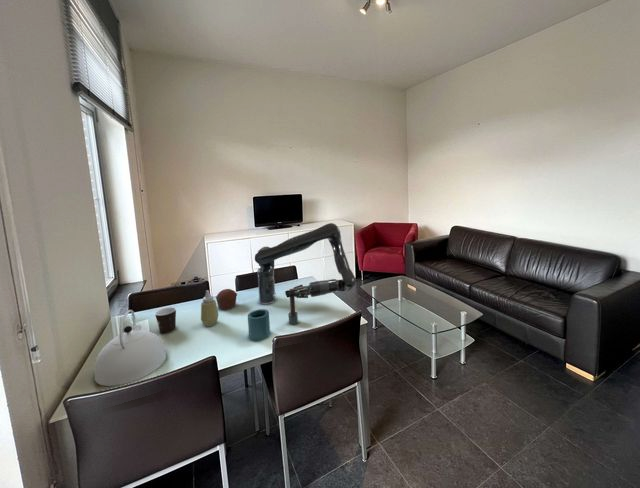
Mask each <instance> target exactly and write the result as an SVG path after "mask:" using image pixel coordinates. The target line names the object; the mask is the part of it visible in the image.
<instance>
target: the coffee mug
mask: <svg viewBox="0 0 640 488" xmlns="http://www.w3.org/2000/svg"><path fill="white" fill-rule="evenodd" d="M154 315H155V318H156V323H157V326H158V329H159V333H160V334H163V335H165V334H169V333H172V332H174V331H175V330H176V322H177V321H176V320H177V319H176V318H177V308H176V307H172V306H169V307H168V306H167V307H164V308H160V309H159V310H156V311H155V312H154Z"/></svg>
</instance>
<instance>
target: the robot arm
mask: <svg viewBox="0 0 640 488" xmlns="http://www.w3.org/2000/svg"><path fill="white" fill-rule="evenodd" d="M323 240H328V242H329V244H330V246H331V249H332V252H333V258H334V259H333V260H334V264H335V266H336V269H337V272H338V274H339V275H341V278H342V279H336V278H332V279H326V280H325V279H324V280H317V281H312V282H311V281H310V282H309V283H308V285H303V284H298V285H295V286H293V287H292V289H294V292H289V290H290V289H287V290H285V291H284V295H285V297H286V299H287V298H290V297H293V296H294V297H295V299H308V298H309V296H310V297H311V298H314V297H320V296H324V295H329V294H332V293H333V294H334V293H342V292H348V291H351V290H352V289H353V288H354V287H355V286H356V283H357V281H356V277H355V275H354V272H353V271H352V269H351V267H350V264H349V261H348V257H347V255H346V252H345V250H344V246H343V242H342V235H341V230H340V228H339V226H338V225H337V224H336V223H333V222H329V223H326V224H324V225H322V226H319V227H318V228H316V229H313V230H311V231H307V232H305V233H304V232H303V233H302V234H298V235H296V236H295V235H294V236H293V237H290V238H289V239H286V240H284V241H282V242H281V243H279V244H277V245H274V246H271V247H270V246H262V247H261V248H259V249H258V250H257V251H256V253H255V254H254V262H255V263H256V264H258V268H257V270H256V271H257V286H258V287H257V288H258V303H259V304H260V305H270V304H273V303H275V302H276V300H277V299H276V295H277V292H276V285H275V261H276V260H278V259H281V258H284V257H287V256H290V255H294V254H296V253H300V252H302V251H305V250H307V249H309V248H310V247H311V246H313V245H314V244H316V243H317V242H320V241H323Z"/></svg>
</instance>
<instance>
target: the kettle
mask: <svg viewBox="0 0 640 488" xmlns="http://www.w3.org/2000/svg"><path fill="white" fill-rule="evenodd" d="M129 313H131V317H132V326H131V325H126V326H125V327H124V323H125V319H126V317H127V316H128V315H129ZM123 327H124V328H123ZM166 359H167V353H166V348H165V344H164V342H163V340H162V338H160V337H159V336H158V335H157V334H155V333H154V332H151V331H150V330H143V329H142V326H141V325H137V322H136V314H135V311H134V310H133V309H129V310H127V311H126V312H125V314H124V315H123V316H122V318H121V321H120V325H119V334H118V335H116V336H115V337H114V338H112V339H111V340H109V341H108V342H107V343H106V345H104V347H103V348H102V349H101V350H100V351H99V354H98V355H97V357H96V359H95V363H94V380H95V383H96V384H97V385H100V386H105V387H113V386H114V387H115V386H120V385H124V384H128V383H131V382H134V381H137V380H139V379H141V378H144V377H145V376H148V375H149V374H151V373H153V372H154V371H156V370H157V369H158V368H160V367H161V366H162V365H163V364H164V362H165V361H166Z"/></svg>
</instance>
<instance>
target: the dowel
mask: <svg viewBox="0 0 640 488" xmlns="http://www.w3.org/2000/svg"><path fill="white" fill-rule="evenodd" d="M288 290H289V292H294V289H293V288H289V289H288ZM295 300H296V297H294V296H293V297H289V310H290V311H289V312H288V314H287V315H288V324H289V325H291V326H295V325H297V324H299V317H298V315H299V313H298V312H297V311H296V301H295Z"/></svg>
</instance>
